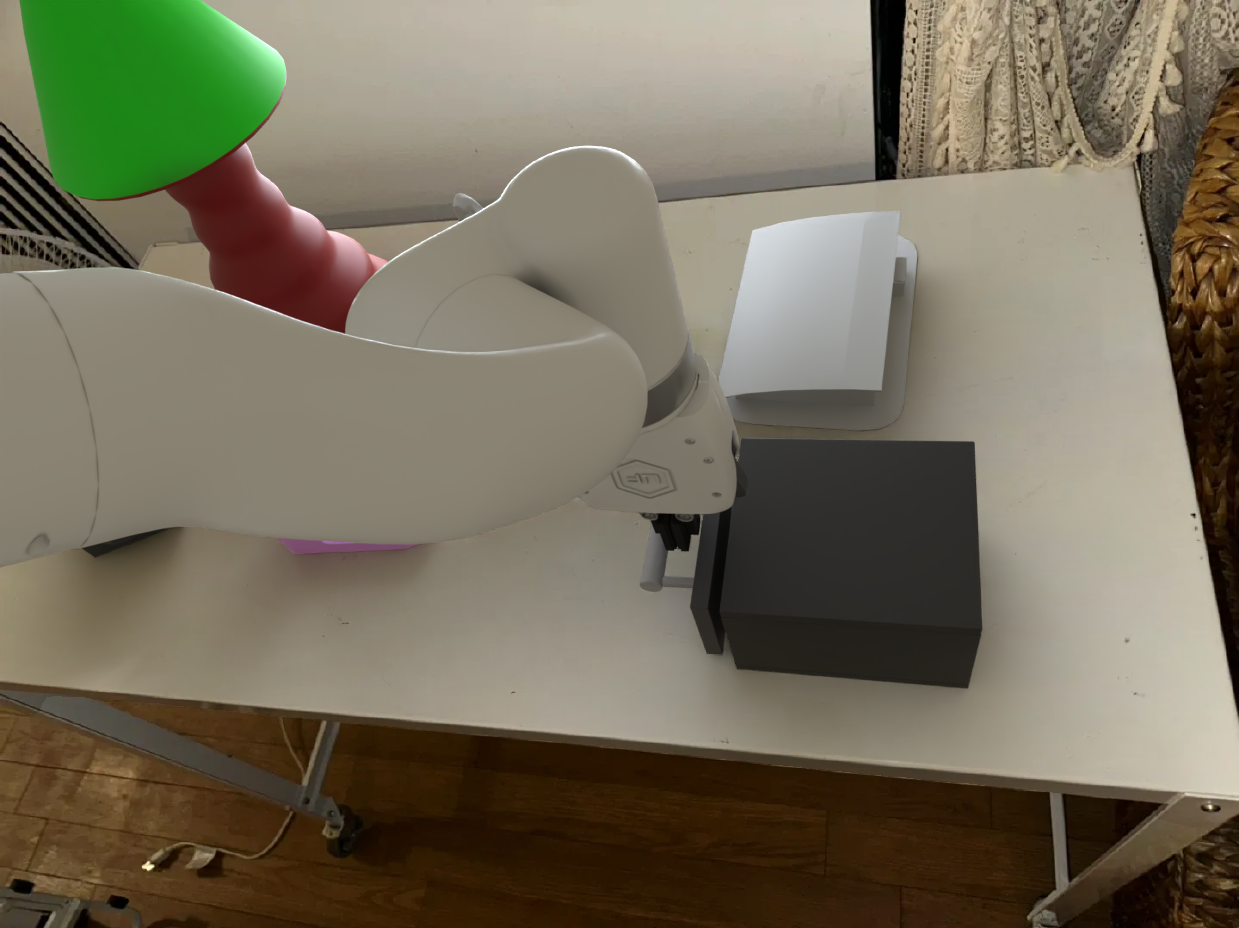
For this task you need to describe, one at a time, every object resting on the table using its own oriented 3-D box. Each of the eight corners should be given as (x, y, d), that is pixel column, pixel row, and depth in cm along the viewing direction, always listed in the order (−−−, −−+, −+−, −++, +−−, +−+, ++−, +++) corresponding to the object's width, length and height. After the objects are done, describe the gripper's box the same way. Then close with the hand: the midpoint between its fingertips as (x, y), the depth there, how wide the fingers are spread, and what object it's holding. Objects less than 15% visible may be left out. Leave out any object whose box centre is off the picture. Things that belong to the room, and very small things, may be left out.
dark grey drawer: (646, 649, 67) (624, 603, 61) (670, 505, 74) (652, 449, 67) (918, 671, 62) (924, 623, 56) (917, 513, 69) (923, 454, 62)
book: (919, 234, 86) (921, 201, 83) (901, 433, 74) (902, 403, 71) (756, 234, 90) (752, 203, 87) (714, 421, 79) (708, 393, 75)
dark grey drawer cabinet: (736, 669, 66) (719, 612, 58) (754, 507, 73) (740, 437, 65) (968, 689, 61) (982, 630, 54) (962, 514, 69) (974, 440, 61)
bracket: (294, 554, 80) (251, 513, 75) (310, 500, 84) (270, 456, 78) (431, 547, 78) (397, 505, 72) (443, 492, 81) (412, 447, 75)
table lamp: (352, 259, 102) (72, -201, 66) (467, 326, 92) (210, -175, 56) (213, 378, 96) (-181, -58, 60) (319, 464, 86) (-77, 1, 50)
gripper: (482, 420, 50) (570, 575, 65) (757, 422, 46) (784, 587, 61) (513, 318, 54) (589, 485, 69) (769, 311, 50) (791, 491, 65)
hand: (680, 532), depth 65 cm, fingers closed
